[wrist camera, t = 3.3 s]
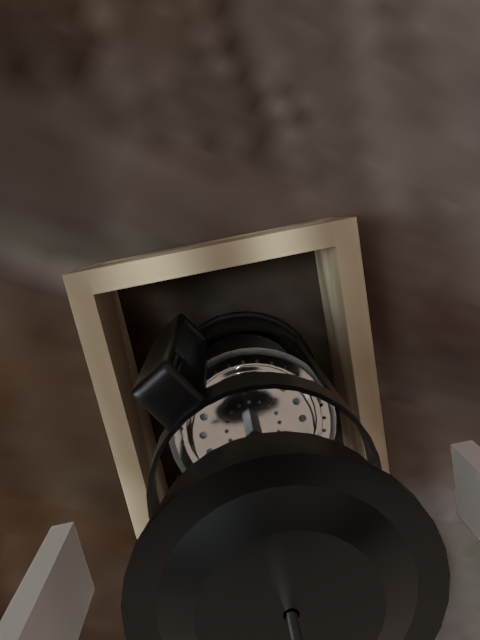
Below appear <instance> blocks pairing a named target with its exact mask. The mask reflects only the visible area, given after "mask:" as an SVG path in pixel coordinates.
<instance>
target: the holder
mask: <svg viewBox="0 0 480 640" xmlns="http://www.w3.org/2000/svg"><path fill="white" fill-rule="evenodd" d="M309 251H314V252H315V258H316V265H317V271H318V278H319V284H320V291H321V298H322V304H323V311H324V317H325V324H326V330H327V337H328V343H329V350H330V356H331V363H332V369H333V376H334V382H335V389H336V390H337V392H338V393H339V394H340V396H341V397H342V399H343V400H344V401H345V403H346V404H347V405H348V407H349V408H350V409H351V411H352V412H353V413H354V415H355V416H356V417H357V419H358V420H359V421H360V423H361V424H362V426H363V427H364V428H365V430H366V431H367V432H368V434H369V435H370V436H371V438H372V441H373V443H374V445H375V447H376V450H377V452H378V454H379V457H380V462H381V467H382V470H383V471H385V472H387V473H388V474H390V472H389V464H388V456H387V449H386V441H385V433H384V425H383V418H382V410H381V402H380V395H379V387H378V379H377V371H376V364H375V356H374V348H373V341H372V333H371V325H370V317H369V310H368V302H367V294H366V287H365V279H364V271H363V264H362V256H361V248H360V240H359V233H358V225H357V217H328V218H323V219H318V220H313V221H308V222H303V223H298V224H293V225H288V226H283V227H278V228H273V229H268V230H263V231H258V232H253V233H248V234H243V235H238V236H232V237H227V238H222V239H217V240H212V241H207V242H202V243H197V244H192V245H187V246H182V247H177V248H172V249H167V250H162V251H157V252H152V253H147V254H142V255H137V256H132V257H127V258H122V259H117V260H112V261H107V262H102V263H97V264H92V265H88V266H85V267H82V268H80V269H77V270H75V271H72V272H69V273H67V274H64V275H62V277H63V281H64V284H65V288H66V292H67V295H68V299H69V302H70V306H71V309H72V313H73V316H74V320H75V323H76V327H77V330H78V334H79V337H80V341H81V344H82V348H83V351H84V355H85V358H86V362H87V365H88V369H89V372H90V376H91V379H92V383H93V387H94V390H95V394H96V397H97V401H98V404H99V408H100V411H101V415H102V418H103V422H104V425H105V429H106V432H107V436H108V439H109V443H110V446H111V450H112V453H113V457H114V460H115V464H116V467H117V471H118V474H119V478H120V481H121V485H122V489H123V492H124V496H125V499H126V503H127V506H128V510H129V513H130V517H131V520H132V524H133V527H134V531H135V534H136V538H137V539H138V538H139V536H140V534H141V533H142V531H143V530H144V528H145V526H146V525H147V523H148V521H149V516H148V507H147V498H146V494H147V485H148V477H149V472H150V467H151V463H152V459H153V455H154V452H155V449H156V447H157V443H156V439H155V435H154V432H153V428H152V424H151V420H150V416H149V412H148V411H147V410H146V409H145V408H144V407H143V406H142V405H141V404H140V403H139V402H137V401H136V400H135V399H134V398H133V396H132V388H133V386H134V384H135V382H136V380H137V377H138V375H139V373H138V370H137V366H136V362H135V358H134V354H133V350H132V346H131V342H130V339H129V335H128V331H127V327H126V323H125V319H124V315H123V311H122V308H121V304H120V300H119V296H118V292H117V290H119V289H124V288H129V287H134V286H139V285H144V284H149V283H154V282H159V281H164V280H169V279H174V278H179V277H184V276H189V275H194V274H199V273H204V272H209V271H214V270H219V269H224V268H229V267H234V266H239V265H244V264H249V263H254V262H259V261H264V260H269V259H274V258H279V257H284V256H289V255H294V254H299V253H304V252H309ZM339 415H340V422H341V428H342V435H343V441H344V445H345V446H347V447H348V448H350V449H352V450H354V451H356V452H358V453H359V454H360V455H361V456H362V457H364V458H365V459H366V460H367V457H366V452H365V447H364V442H363V439H362V437H361V435H360V433H359V430H358V428H357V426H356V424H355V423H354V422H353V421H352V420H350V419H349V418H348V417H347V416H346V415H345V414H344V413H342V412H341V411H340V410H339ZM155 478H156V487H157V496H158V499H159V502H160V503H161V501H162V500H163V498H164V496H165V495H166V493H167V492H168V486H167V482H166V478H165V474H164V470H163V466H162V463H161V459H159V462H158V465H157V468H156V476H155Z"/></svg>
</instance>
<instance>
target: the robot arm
mask: <svg viewBox="0 0 480 640" xmlns="http://www.w3.org/2000/svg"><path fill="white" fill-rule="evenodd" d="M450 447H451V457H452V467H453V478H454V488H455V498H456V508H457V514H458V516H459V517H460V518H461V519H462V520H463V522H464V523H465V524H466V525H467V526H468V528H469V529H470V530H471V531H472V532H473V534H474V535H475V536H476V537H477V538H478V540H479V541H480V446H478V445H477V444H476V443H475V442H474V441H473V440H470V441H465V442H460V443H455V444H450ZM94 590H95V588H94V585H93V582H92V579H91V576H90V572H89V569H88V566H87V563H86V560H85V556H84V553H83V550H82V547H81V544H80V540H79V537H78V534H77V531H76V528H75V524H74V522H70V523H65V524H60V525H55V526H51V528H50V530H49V532H48V534H47V535H46V537H45V539H44V541H43V543H42V545H41V547H40V548H39V550H38V552H37V554H36V556H35V558H34V560H33V561H32V563H31V565H30V567H29V569H28V571H27V573H26V574H25V576H24V578H23V580H22V582H21V584H20V586H19V587H18V589H17V591H16V593H15V595H14V597H13V599H12V600H11V602H10V604H9V606H8V608H7V610H6V611H5V613H4V615H3V617H2V619H1V621H0V640H78V638H79V635H80V632H81V629H82V626H83V623H84V620H85V617H86V614H87V611H88V608H89V605H90V602H91V599H92V596H93V593H94Z"/></svg>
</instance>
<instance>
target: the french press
mask: <svg viewBox="0 0 480 640" xmlns="http://www.w3.org/2000/svg"><path fill="white" fill-rule="evenodd" d="M236 334H254V335H260V336H263V337H266V338H269V339H270V340H272V341H274V342H276V343H277V344H279V345H280V346H281V347H282V348H283V349H284V350H286V352H287V353H288V354H287V353H284V352H281V351H278V350H275V349H266V348H258V347H257V348H242V349H237V350H233V351H229V352H226V353H223V354H220V355H218V356H216V357H214V358H212V359H210V360H208V361H207V348H208V347H209V346H210V345H212V344H213V343H215V342H216V341H218V340H220V339H222V338H225V337H228V336H232V335H236ZM174 352H175V353H176V354H175V356H174V359H173V355H174ZM172 359H173V362H172ZM132 396H133V398H134V399H135V400H136V401H137V402H139V403H140V404H141V405H142V406H143V407H144V408H145V409H146V410H147V411H148V412H149V413H150V414H151V415H152V416H153V417H154V418H156V419H157V420H158V421H159V422H160V423H161V424H162V425H163V426H164V427H165V429H164V431H163V432H162V434H161V436H160V438H159V441H158V444H157V447H156V449H155V452H154V455H153V459H152V463H151V467H150V472H149V477H148V485H147V494H146V498H147V507H148V516H149V521H148V523H147V525H146V526H145V528H144V530H143V531H142V533H141V534H140V536H139V538H138V539H137V541H136V543H135V545H134V548H133V551H132V554H131V557H130V560H129V563H128V566H127V568H126V572H125V576H124V583H123V592H122V601H121V611H122V618H123V626H124V633H125V636H126V639H127V640H435V638H436V636H437V634H438V632H439V630H440V628H441V626H442V622H443V619H444V615H445V612H446V608H447V605H448V600H449V583H450V572H449V566H448V560H447V554H446V548H445V546H444V543H443V541H442V539H441V536H440V534H439V532H438V529H437V527H436V525H435V523H434V521H433V520H432V519H431V517H430V516H429V515H428V513H427V512H426V510H425V509H424V508H423V506H422V505H421V504H420V502H419V501H418V500H417V498H416V497H415V496H414V494H413V493H412V492H410V491H409V490H408V489H407V488H406V487H405V486H403V485H402V484H401V483H400V482H399V481H398V480H396V479H395V478H394V477H393V476H392V475H390V474H388V473H387V472H385V471H383V470H382V467H381V462H380V457H379V454H378V452H377V450H376V447H375V445H374V443H373V441H372V438H371V436H370V435H369V434H368V432H367V431H366V430H365V428H364V427H363V426H362V424H361V423H360V421H359V420H358V419H357V417H356V416H355V415H354V413H353V412H352V411H351V409H350V408H349V407H348V405H347V404H346V403H345V401H344V400H343V399H342V397H341V396H340V394H339V393H338V392H337V390H336V389H335V388H334V386H333V385H332V384H331V382H330V381H329V380H328V378H327V377H326V376H325V374H324V373H323V372H322V370H321V369H320V368H319V366H318V365H317V363H316V362H315V359H314V357H313V355H312V353H311V351H310V348H309V347H308V345H307V344H306V343H305V341H304V340H303V339H302V337H301V336H300V335H299V334H298V333H297V332H296V331H295V330H294V329H293V328H291V327H290V326H289V325H288V324H286V323H284V322H282V321H281V320H279V319H277V318H275V317H272V316H269V315H266V314H263V313H257V312H249V311H244V312H232V313H228V314H224V315H220V316H217V317H215V318H213V319H211V320H209V321H207V322H204V323H203V324H202V325H200V326H199V327H198V328H196V327H195V326H194V325H193V324H192V323H191V322H190V321H189V320H188V319H187V318H186V317H185V316H184V315H183V314H179V315H177V316H176V317H175V318H174V319H173V320H172V321H171V322H170V323H168V324H167V325H166V326H165V327H164V328H163V329H162V330H161V331H160V332H159V333H158V334H157V336H156V338H155V340H154V342H153V345H152V347H151V349H150V351H149V353H148V356H147V358H146V360H145V362H144V364H143V367H142V369H141V371H140V373H139V375H138V377H137V380H136V382H135V384H134V386H133V388H132ZM335 407H336V408H338V409H339V410H340V411H341V412H342V413H344V414H345V415H346V416H347V417H348V418H349V419H350V420H352V421H353V422H354V423H355V424H356V426H357V428H358V430H359V433H360V435H361V437H362V439H363V442H364V447H365V452H366V457H367V460H366V459H365V458H364V457H362V456H361V455H360V454H359V453H358V452H356V451H354V450H352V449H350V448H348V447H347V446H345V445H343V444H341V443H339V442H337V441H335V440H334V439H335V434H336V412H335ZM168 443H169V445H170V448H171V452H172V455H173V458H174V460H175V461H176V463H177V465H178V468H177V475H176V481H175V482H174V483H173V484H172V485H171V487H170V488H169V490H168V492H167V493H166V495H165V496H164V498H163V500H162V501H161V503H160V502H159V499H158V496H157V487H156V478H155V476H156V468H157V465H158V462H159V459H160V456H161V454H162V453H163V451H164V449H165V448H166V446H167V444H168Z"/></svg>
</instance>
